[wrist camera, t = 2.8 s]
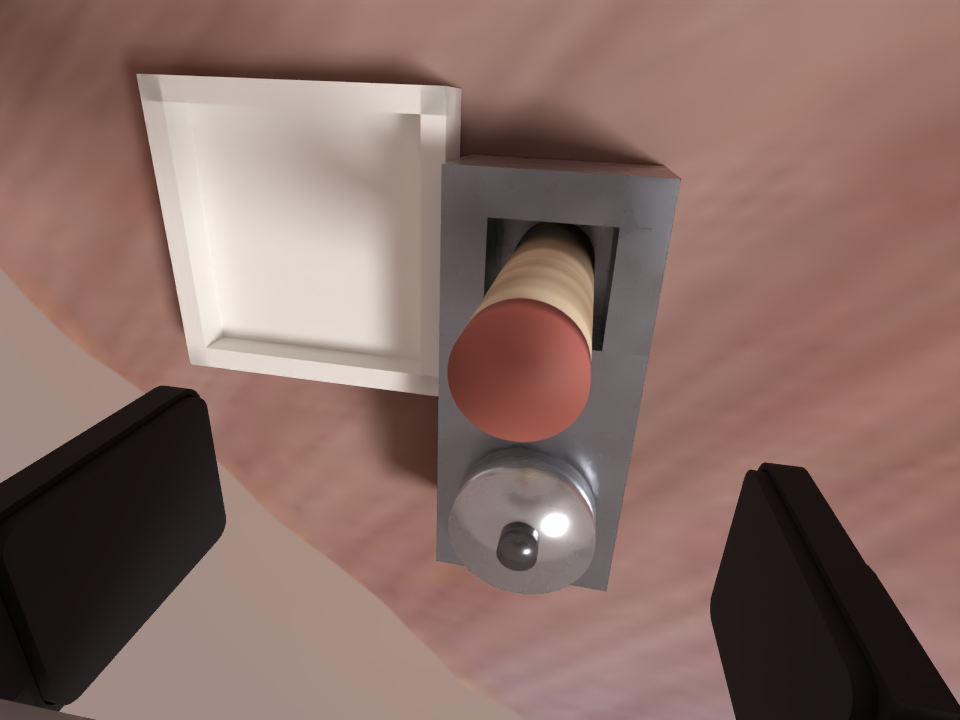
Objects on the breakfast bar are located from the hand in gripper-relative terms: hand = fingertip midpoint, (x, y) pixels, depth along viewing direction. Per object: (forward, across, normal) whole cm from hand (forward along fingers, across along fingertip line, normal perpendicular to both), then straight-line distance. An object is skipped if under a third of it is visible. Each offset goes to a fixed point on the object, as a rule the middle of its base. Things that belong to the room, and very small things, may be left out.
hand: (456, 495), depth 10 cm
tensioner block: (+17, -1, +4) cm, 18 cm away
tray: (+17, +10, 0) cm, 20 cm away
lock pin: (+16, -1, 0) cm, 16 cm away
